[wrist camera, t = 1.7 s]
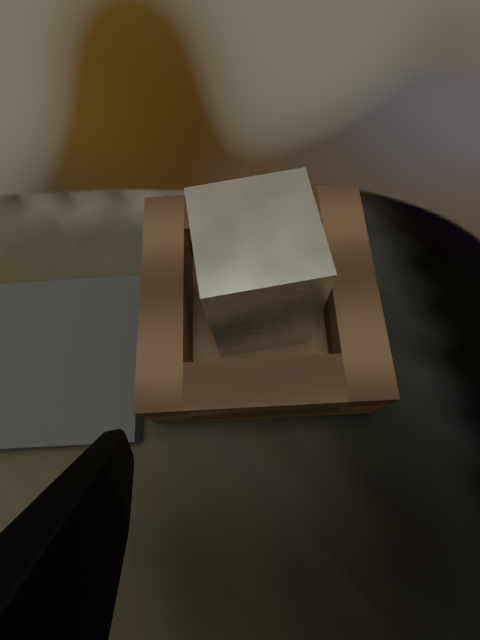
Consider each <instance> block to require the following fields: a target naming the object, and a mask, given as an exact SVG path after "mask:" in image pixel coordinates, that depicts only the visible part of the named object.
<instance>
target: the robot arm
mask: <svg viewBox="0 0 480 640" xmlns="http://www.w3.org/2000/svg"><path fill="white" fill-rule="evenodd" d="M133 472H134V457H133V453H132V450H131V448H130V445H129V442H128V439H127V436H126V434H125V432H124V430H123V429H114V430H109V431H105V432H104V433H102V434H101V435H100V436H99V437H98V438H97V439H96V440H95V441H94V442H93V443H92V444H91V445H90V446H89V447H88V448H87V449H86V450H85V451H84V452H83V453H82V454H81V455H80V456H79V457H78V458H77V459H76V460H75V461H74V462H73V463H72V464H71V465H70V466H69V467H68V468H67V469H65V470H64V471H63V472H62V473H61V474H60V475H59V476H58V477H57V478H56V479H55V480H54V481H53V482H52V483H51V484H50V485H49V486H48V487H47V488H46V489H45V490H44V491H43V492H42V493H41V494H40V495H39V496H38V497H37V498H36V499H35V500H34V501H33V502H32V503H31V504H30V505H29V506H28V507H27V508H25V509H24V510H23V511H22V512H21V513H20V514H19V515H18V516H17V517H16V518H15V519H14V520H13V521H12V522H11V523H10V524H9V525H8V526H7V527H6V528H5V529H4V530H3V531H2V532H1V533H0V640H108V639H109V633H110V628H111V623H112V617H113V612H114V607H115V602H116V596H117V591H118V586H119V580H120V575H121V570H122V564H123V559H124V554H125V548H126V543H127V538H128V531H129V523H130V512H131V499H132V486H133Z"/></svg>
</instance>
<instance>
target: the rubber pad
mask: <svg viewBox="0 0 480 640" xmlns="http://www.w3.org/2000/svg"><path fill="white" fill-rule="evenodd" d="M140 278H141V275H130V276H115V277H99V278H84V279H69V280H53V281H38V282H22V283H7V284H0V451H1V450H20V449H40V448H59V447H78V446H90V445H91V444H92V443H93V442H94V441H95V440H96V439H97V438H98V437H99V436H100V435H101V434H102V433H104V432H105V431H109V430H114V429H123V430H124V432H125V434H126V436H127V439H128V442H129V444H136V443H142V442H143V419H144V418H143V417H141V416H138V415H135V414H133V407H134V389H135V370H136V352H137V333H138V315H139V296H140Z"/></svg>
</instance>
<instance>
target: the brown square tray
mask: <svg viewBox="0 0 480 640" xmlns="http://www.w3.org/2000/svg"><path fill="white" fill-rule="evenodd" d="M311 188H312V192H313V195H314V198H315V202H316V205H317V208H318V212H319V215H320V218H321V222H322V225H323V229H324V232H325V235H326V239H327V242H328V245H329V249H330V252H331V255H332V259H333V262H334V266H335V269H336V272H337V277H336V279H335V282H334V284H333V286H332V289H331V291H330V294H329V296H328V298H327V301H326V303H325V306H324V308H323V311H322V313H321V315H320V318H319V320H318V323H317V325H316V327H315V330H314V332H313V335H312V337H311V340H310V342H305V343H300V344H294V345H289V346H283V347H277V348H272V349H266V350H260V351H255V352H249V353H244V354H238V355H232V356H227V357H221V355H220V352H219V350H218V347H217V344H216V342H215V339H214V336H213V333H212V331H211V328H210V325H209V322H208V320H207V317H206V314H205V311H204V309H203V306H202V303H201V300H200V296H199V289H198V282H197V275H196V268H195V261H194V254H193V247H192V240H191V233H190V226H189V219H188V212H187V206H186V199H185V195H177V196H163V197H149V198H145V204H144V222H143V241H142V259H141V278H140V296H139V315H138V333H137V352H136V370H135V389H134V407H133V414H135V415H138V416H141V417H143V418H146V419H148V420H151V421H154V422H156V423H159V424H172V423H191V422H210V421H229V420H248V419H267V418H285V417H304V416H323V415H342V414H361V413H371V412H373V411H375V410H377V409H379V408H382V407H384V406H386V405H388V404H391V403H393V402H395V401H397V400H400V396H399V391H398V386H397V381H396V376H395V371H394V366H393V361H392V355H391V350H390V345H389V340H388V335H387V330H386V325H385V320H384V315H383V310H382V305H381V300H380V295H379V289H378V284H377V279H376V274H375V269H374V264H373V259H372V254H371V249H370V244H369V239H368V234H367V229H366V223H365V218H364V213H363V208H362V203H361V198H360V193H359V188H358V183H346V184H332V185H318V186H311Z"/></svg>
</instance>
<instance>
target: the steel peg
mask: <svg viewBox="0 0 480 640" xmlns="http://www.w3.org/2000/svg"><path fill="white" fill-rule="evenodd" d="M184 192H185V199H186V206H187V212H188V219H189V226H190V233H191V240H192V247H193V254H194V261H195V268H196V275H197V282H198V289H199V296H200V300H201V303H202V306H203V309H204V311H205V314H206V317H207V320H208V322H209V325H210V328H211V331H212V333H213V336H214V339H215V342H216V344H217V347H218V350H219V352H220V355H221V357H227V356H232V355H238V354H244V353H249V352H255V351H260V350H266V349H272V348H277V347H283V346H289V345H294V344H300V343H305V342H310V340H311V337H312V335H313V332H314V330H315V327H316V325H317V323H318V320H319V318H320V315H321V313H322V311H323V308H324V306H325V303H326V301H327V298H328V296H329V294H330V291H331V289H332V286H333V284H334V282H335V279H336V277H337V272H336V269H335V266H334V262H333V259H332V255H331V252H330V249H329V245H328V242H327V239H326V235H325V232H324V229H323V225H322V222H321V218H320V215H319V212H318V208H317V205H316V202H315V198H314V195H313V192H312V188H311V185H310V181H309V178H308V175H307V172H306V168H305V167H304V168H298V169H292V170H286V171H281V172H275V173H269V174H263V175H257V176H251V177H245V178H240V179H234V180H228V181H223V182H217V183H210V184H204V185H199V186H193V187H187V188H184Z"/></svg>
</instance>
